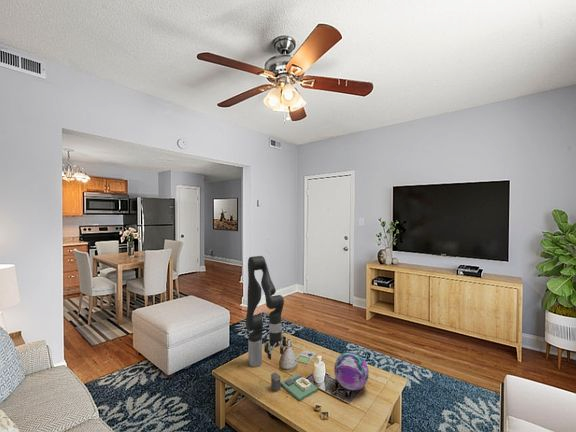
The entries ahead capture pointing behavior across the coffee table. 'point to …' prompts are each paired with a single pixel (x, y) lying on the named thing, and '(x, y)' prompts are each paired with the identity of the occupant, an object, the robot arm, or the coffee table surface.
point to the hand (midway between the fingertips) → (275, 356)
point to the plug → (275, 382)
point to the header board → (299, 387)
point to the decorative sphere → (351, 371)
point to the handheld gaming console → (305, 357)
